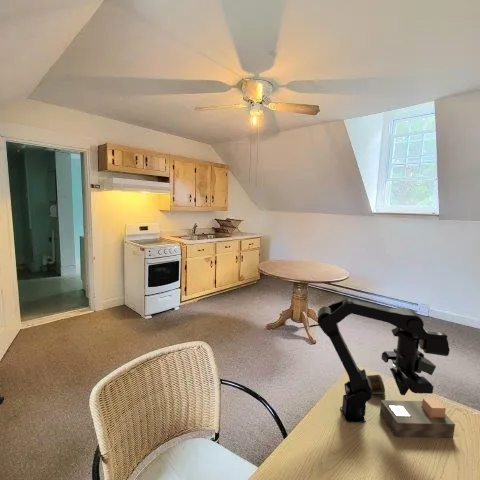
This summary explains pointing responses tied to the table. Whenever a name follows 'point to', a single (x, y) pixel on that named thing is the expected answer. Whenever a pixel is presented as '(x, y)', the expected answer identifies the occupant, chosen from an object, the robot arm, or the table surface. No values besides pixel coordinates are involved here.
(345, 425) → the table surface
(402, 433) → the plug panel
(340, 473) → the table surface
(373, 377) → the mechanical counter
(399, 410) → the aluminium plug
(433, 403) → the terracotta plug
